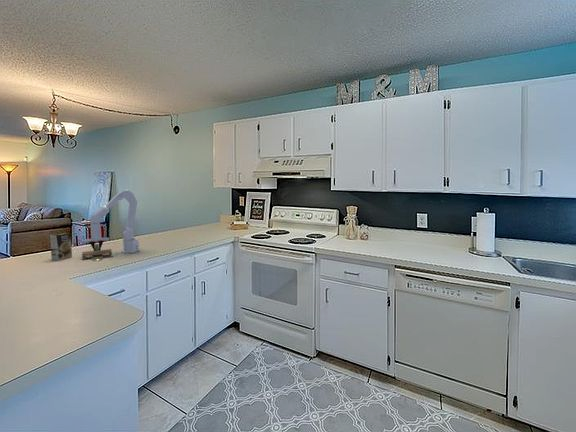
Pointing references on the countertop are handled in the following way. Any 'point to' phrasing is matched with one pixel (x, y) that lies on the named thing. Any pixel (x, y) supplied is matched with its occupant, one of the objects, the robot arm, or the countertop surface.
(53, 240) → the coffee box
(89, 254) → the wooden stand
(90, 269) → the countertop surface
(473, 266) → the countertop surface
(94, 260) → the puck
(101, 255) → the scraper
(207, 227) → the countertop surface
